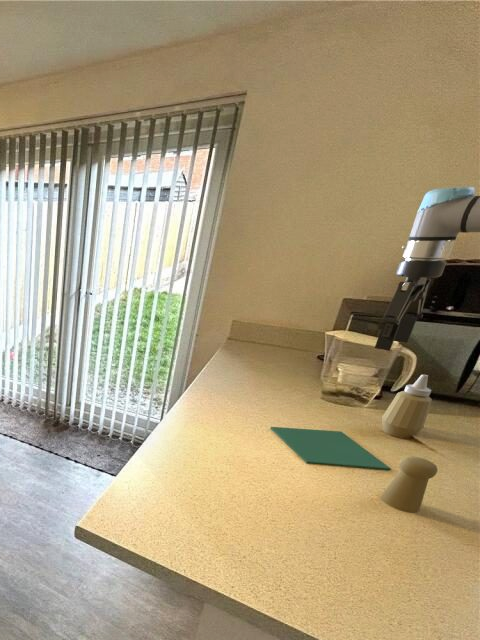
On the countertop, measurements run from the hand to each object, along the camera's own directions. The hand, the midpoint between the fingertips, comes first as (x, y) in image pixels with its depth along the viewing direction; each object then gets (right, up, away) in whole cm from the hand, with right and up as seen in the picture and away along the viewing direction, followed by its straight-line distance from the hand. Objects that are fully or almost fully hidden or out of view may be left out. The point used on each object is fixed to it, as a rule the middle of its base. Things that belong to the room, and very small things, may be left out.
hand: (391, 345), depth 101 cm
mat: (-14, -27, +4) cm, 31 cm away
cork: (-16, -36, -16) cm, 43 cm away
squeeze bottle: (+12, -24, +10) cm, 29 cm away
